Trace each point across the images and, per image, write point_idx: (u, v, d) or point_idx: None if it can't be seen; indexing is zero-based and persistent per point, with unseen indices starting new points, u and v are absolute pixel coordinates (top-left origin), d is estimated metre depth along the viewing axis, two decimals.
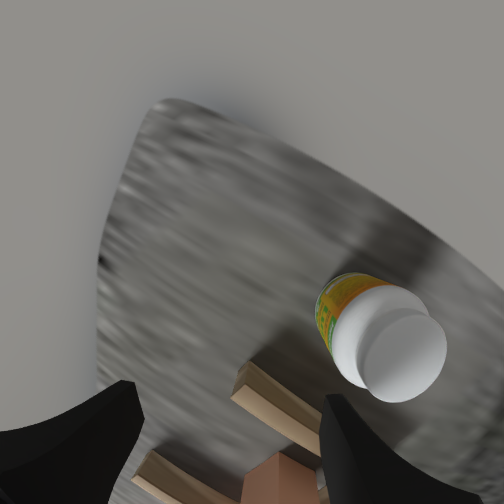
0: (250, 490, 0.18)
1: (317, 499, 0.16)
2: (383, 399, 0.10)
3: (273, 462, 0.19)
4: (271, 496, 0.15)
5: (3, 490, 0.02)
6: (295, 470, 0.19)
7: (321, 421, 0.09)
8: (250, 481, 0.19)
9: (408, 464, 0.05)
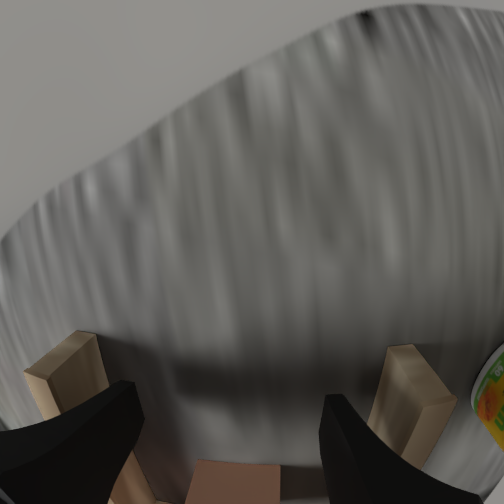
0: (209, 500, 0.10)
1: None
2: None
3: (267, 478, 0.12)
4: None
5: (3, 490, 0.02)
6: None
7: (321, 421, 0.09)
8: (210, 482, 0.11)
9: (408, 464, 0.05)
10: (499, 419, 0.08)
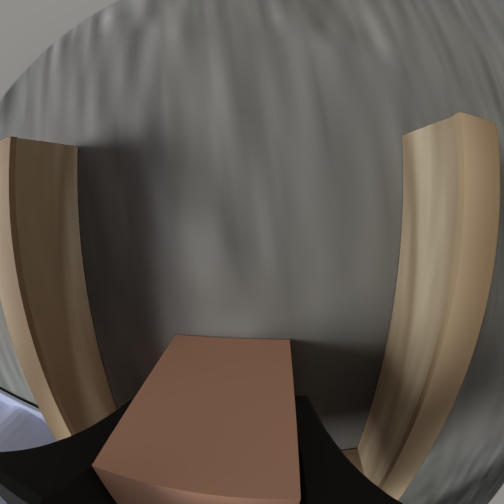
0: (184, 377, 0.08)
1: None
2: None
3: (272, 352, 0.10)
4: (263, 435, 0.06)
5: None
6: None
7: None
8: (189, 356, 0.10)
9: (359, 474, 0.05)
10: None
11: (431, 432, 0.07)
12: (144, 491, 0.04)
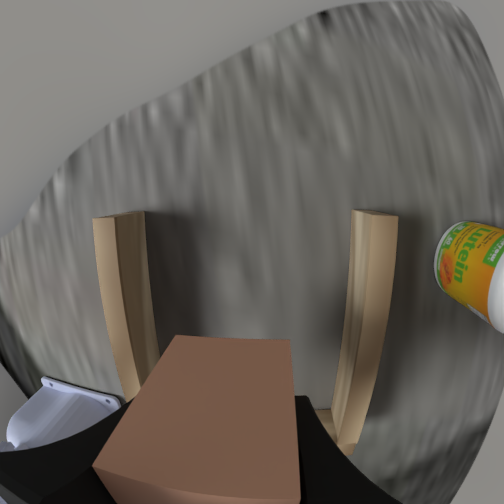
0: (184, 378, 0.08)
1: None
2: None
3: (272, 353, 0.10)
4: (263, 435, 0.06)
5: None
6: None
7: None
8: (189, 357, 0.10)
9: (359, 474, 0.05)
10: (456, 274, 0.14)
11: (366, 388, 0.15)
12: (144, 492, 0.04)
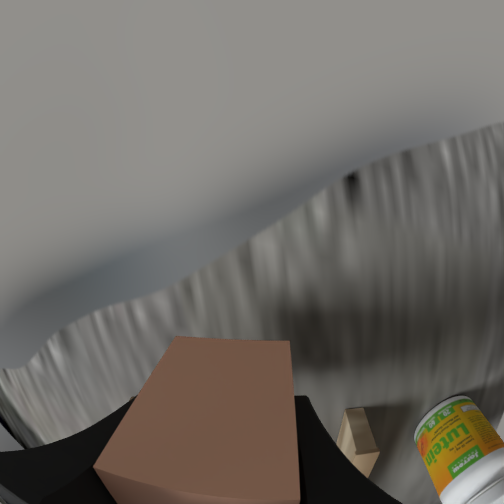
0: (184, 379, 0.08)
1: None
2: None
3: (272, 354, 0.10)
4: (263, 436, 0.06)
5: None
6: None
7: None
8: (189, 358, 0.10)
9: (359, 473, 0.05)
10: (427, 458, 0.13)
11: None
12: (145, 492, 0.04)
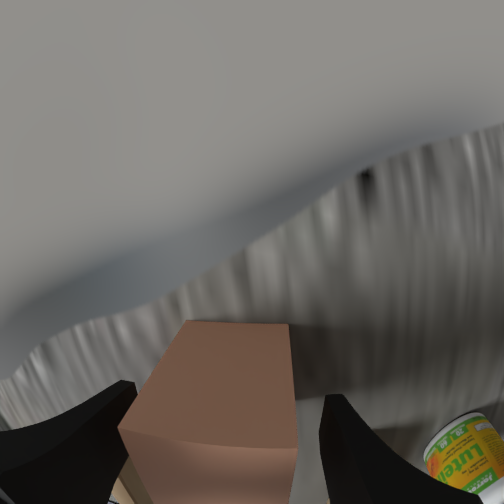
0: (196, 354, 0.10)
1: None
2: None
3: (273, 334, 0.11)
4: (265, 398, 0.08)
5: (3, 490, 0.02)
6: None
7: (321, 421, 0.09)
8: (199, 338, 0.11)
9: (408, 464, 0.05)
10: (438, 479, 0.11)
11: None
12: (164, 449, 0.06)
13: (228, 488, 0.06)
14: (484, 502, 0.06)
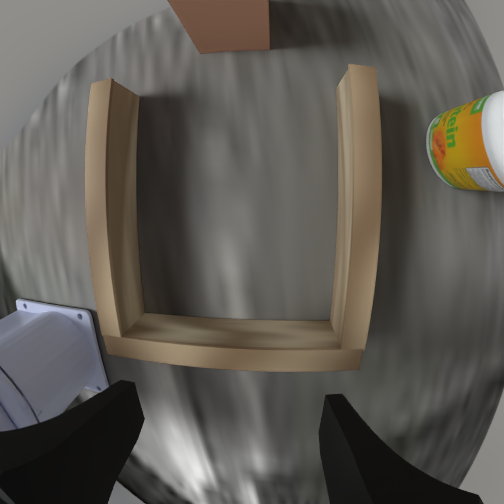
0: None
1: (268, 16, 0.11)
2: None
3: None
4: None
5: (3, 490, 0.02)
6: None
7: (321, 421, 0.09)
8: None
9: (408, 464, 0.05)
10: (449, 140, 0.13)
11: (369, 258, 0.13)
12: None
13: None
14: (498, 97, 0.08)
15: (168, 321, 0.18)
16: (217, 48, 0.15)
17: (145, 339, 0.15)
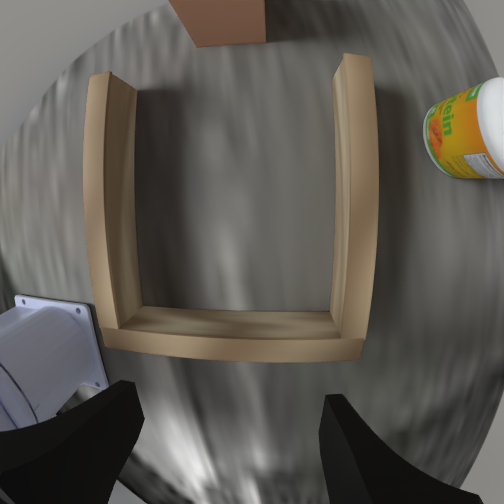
0: None
1: (263, 8, 0.11)
2: None
3: None
4: None
5: (3, 490, 0.02)
6: (264, 3, 0.13)
7: (321, 421, 0.09)
8: None
9: (408, 464, 0.05)
10: (445, 128, 0.12)
11: (368, 244, 0.13)
12: None
13: None
14: (492, 83, 0.08)
15: (166, 313, 0.18)
16: (214, 41, 0.15)
17: (143, 331, 0.15)
